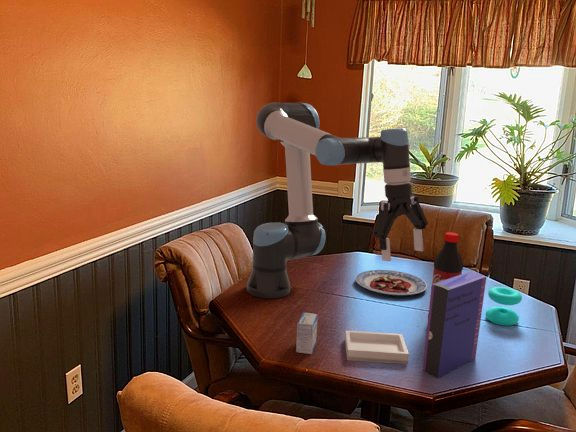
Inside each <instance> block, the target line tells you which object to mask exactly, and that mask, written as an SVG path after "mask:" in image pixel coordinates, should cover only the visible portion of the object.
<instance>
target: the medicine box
mask: <svg viewBox="0 0 576 432" xmlns="http://www.w3.org/2000/svg"><path fill="white" fill-rule="evenodd" d="M296 325H297V326H296V345H295V349H296V351H295V352H296V353H299V354H306V355H312V354H313V352H314V350H315V346H316V344H317V336H318V335H317V334H318V333H317V332H318V314H317V313H310V312H302V314H301V317H300V318H299V321H298V322H297V324H296Z"/></svg>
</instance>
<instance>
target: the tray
mask: <svg viewBox="0 0 576 432" xmlns="http://www.w3.org/2000/svg"><path fill="white" fill-rule="evenodd" d="M344 334H345V336H344V339H345V340H344V344H345V353H346V360H347V361H350V362H351V361H353V362H366V363H367V362H368V363H385V364H395V365H396V364H397V365H398V364H399V365H408V364H409V357H410V356H409V355H410V353H409V351H408V347H407V344H406V342H405V339H404V336H403V333H391V332H389V333H388V332H379V331H378V332H376V331H375V332H374V331H359V330H345V333H344Z"/></svg>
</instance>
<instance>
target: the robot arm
mask: <svg viewBox="0 0 576 432" xmlns="http://www.w3.org/2000/svg"><path fill="white" fill-rule="evenodd" d="M255 125H256V128H257V130H258V132H259V133H260V134H261V135H263V136H264V137H265V138H268V139H271V140H273V141H276V140H279V142H280V144H281V146H283V147H284V154H285V168H286V169H285V170H286V171H285V172H286V186H287V187H286V188H287V189H286V190H287V202H288V205H287V206H288V215H287V217H286V218H285V219H284V222H280V221H278V222H277V221H276V222H266V223H262V224H260V225H258V226H257V227H256V228H255V230H253V239H252V243H253V244H252V269H251V272H250V275H249V277H248V280H247V283H246V292H247V293H248V294H250V295H251V296H253V297H257V298H260V299H278V298H283V297H286V296H287V295H289V294H290V293H291V283H290V280H289V279H290V278H289V276H288V272H287V261H289V260H293V259H301V258H306V257H307V258H309V257H311V256H315V255H317V254H319V253H321V252H322V250H323V249H324V246H325V243H326V230H325V229H324V226H323V225H322V224H321V223H320V222H319V219H318V217H317V216H316V215H314V207H313V188H312V171H311V169H312V168H311V167H312V166H311V155H313V156H315V157H316V160H317V161H318V162H319V164H321V165H322V166H323V165H324V166H333V167H334V166H341V165H354V164H355V165H356V164H372V163H373V164H374V163H375V164H376V163H382V168H383V181H384V183H385V185H384V195H385V198H386V199H387V202H386V203H385V202H380V203H379V205H378V214H377V217H376V221H375V226H374V230H373V233H372V237H373V238H377V239H378V240H379V241H378V243H379V249H380V251H381V260H382V261H385V262H391V261H392V258H391V255H392V254H391V244H390V243H391V241H390V238H388V236H389V233H390V231H391V229H392V227H393V225H394V223H395V220H396V219H397V218H398V217H402V216H403V215H404V216H406V217H407V218H408V220H409V221H410V223H411V224H412V225H413V226H414V228H413V230H412V232H413V233H412V234H413V245H414V247H413V248H414V251H417V252H423V251H424V230H425V229H426V228H427V226H428V223H429V222H428V220H427V218H426V215H425V213H424V211H423V209H422V206H421V204H420V201H419V196H415V195H414V196H413V189H412V187H413V186H412V183H411V180H412V179H411V178H412V175H411V163H410V141H409V136H408V134H409V133H408V130H407V129H406V128H405V127H398V128H397V127H395V128H387V129H382V130H381V131H380V136H371V137H366V136H365V137H364V136H363V137H362V136H361V137H339V136H336V135H333V134H331V133H329V132H327V131H324V130H321V129H320V117H319V113H318V112H317V110H316V108H314V106H313V105H311V104H309V103H304V102H269V103H266V104H265V105H263V106H262V107H261V108H260V109H259V110H258V112H257V113H256V118H255Z"/></svg>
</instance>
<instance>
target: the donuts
mask: <svg viewBox="0 0 576 432" xmlns="http://www.w3.org/2000/svg"><path fill="white" fill-rule="evenodd" d="M488 297H489V299H490V300H491V301H493V302H494V303H497V304H499V305H504V306H496V305H495V306H491V307H488V309H487V310H486V311H485V317H486V319H487V320H488V321H490V322H491V323H492V324H496V325H500V326H513V325H516V324H518V322H519V320H520V319H519V318H520V317H519V315H518V313H517V312H516V311H515V310H513V309H511V308H509V307H506V306H516V305H518V304H520V303H521V302H522V299H523V296H522V294H521V293H520V292H519V291H518V290H516V289H513V288H511V287H506V286H494V287H491V288H490V289H489V290H488Z"/></svg>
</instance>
